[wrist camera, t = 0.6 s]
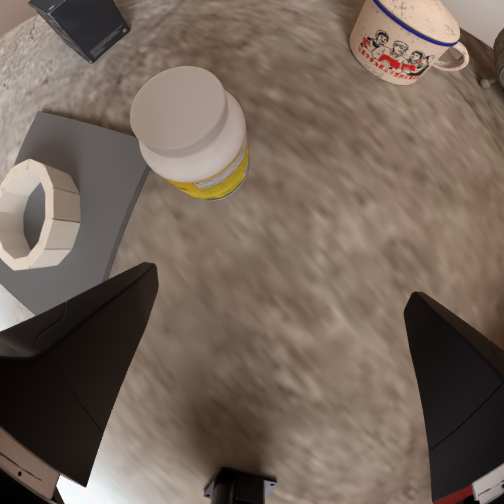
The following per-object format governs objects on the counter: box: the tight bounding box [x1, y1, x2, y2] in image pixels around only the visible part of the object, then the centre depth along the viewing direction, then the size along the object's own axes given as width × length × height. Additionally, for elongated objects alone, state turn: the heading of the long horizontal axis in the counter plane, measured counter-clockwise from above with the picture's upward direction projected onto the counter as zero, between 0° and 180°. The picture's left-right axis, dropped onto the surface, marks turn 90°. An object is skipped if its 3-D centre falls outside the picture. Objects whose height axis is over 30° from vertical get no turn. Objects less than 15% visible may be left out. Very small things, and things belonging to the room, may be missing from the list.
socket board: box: [0, 111, 151, 316], centre depth 20 cm, size 20×18×5 cm
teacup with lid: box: [350, 0, 469, 85], centre depth 16 cm, size 12×9×12 cm
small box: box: [28, 0, 130, 64], centre depth 17 cm, size 11×6×10 cm, turn 46°
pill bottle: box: [130, 66, 249, 201], centre depth 17 cm, size 6×6×11 cm
